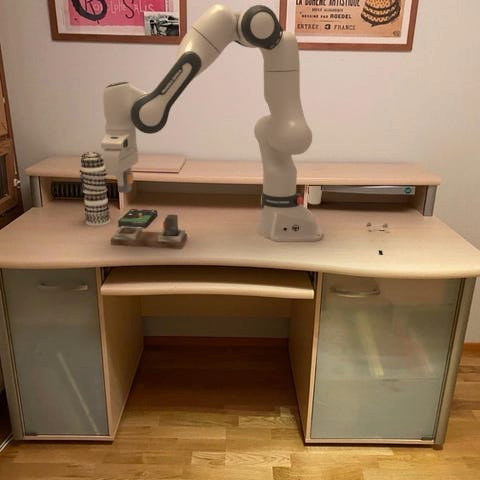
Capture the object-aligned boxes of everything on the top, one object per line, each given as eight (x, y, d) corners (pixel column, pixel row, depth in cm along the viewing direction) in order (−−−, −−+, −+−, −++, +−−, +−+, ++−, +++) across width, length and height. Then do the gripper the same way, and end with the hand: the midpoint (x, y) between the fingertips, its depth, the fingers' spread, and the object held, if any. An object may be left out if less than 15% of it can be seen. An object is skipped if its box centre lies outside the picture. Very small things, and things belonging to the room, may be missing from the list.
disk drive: (131, 215, 182) (118, 228, 168) (130, 208, 181) (117, 220, 167) (157, 217, 181) (146, 229, 167) (157, 209, 180) (146, 221, 166)
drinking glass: (305, 200, 203) (308, 165, 197) (321, 201, 202) (324, 166, 197) (305, 205, 196) (308, 169, 191) (322, 205, 196) (325, 169, 190)
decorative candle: (111, 225, 170) (105, 155, 161) (84, 226, 168) (76, 156, 159) (111, 217, 178) (105, 150, 169) (85, 218, 176) (78, 151, 167)
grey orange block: (118, 192, 148) (116, 170, 145) (122, 189, 152) (121, 167, 149) (130, 192, 148) (128, 170, 145) (134, 189, 151) (132, 167, 149)
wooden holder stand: (187, 239, 158) (186, 213, 154) (181, 248, 150) (181, 221, 147) (119, 235, 160) (117, 210, 157) (111, 244, 152) (108, 217, 149)
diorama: (388, 229, 171) (389, 219, 170) (396, 257, 147) (398, 246, 145) (362, 227, 173) (363, 217, 171) (365, 254, 148) (367, 244, 147)
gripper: (122, 133, 154) (125, 175, 159) (98, 143, 135) (102, 191, 140) (141, 133, 153) (144, 176, 158) (120, 144, 134) (123, 192, 139)
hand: (124, 183), depth 149 cm, fingers closed on grey orange block, 4 cm apart
